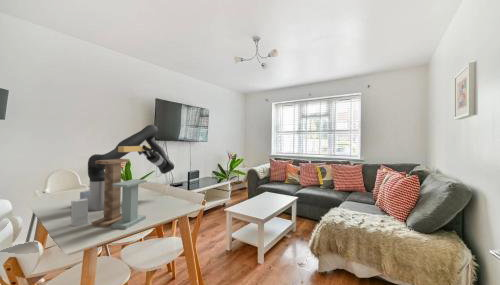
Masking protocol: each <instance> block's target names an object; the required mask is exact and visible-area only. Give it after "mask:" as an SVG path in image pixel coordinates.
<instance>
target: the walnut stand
mask: <svg viewBox="0 0 500 285" xmlns="http://www.w3.org/2000/svg"><path fill="white" fill-rule="evenodd" d="M129 162H130V159H129V158H120V159H109V160H98V161H95V164H105V169H104V172H105V187H104V209H103V217H101V218H99V219H96V220H94V221H92V222H90V223H91V224H90V225H91V226H92V227H93V226H94V227H102V228H110V227H112V224H114V223H116V222H118V221H120V220H122V212H121V199H122V197H121V196H122V195H121V194H122V192H121V191H122V189H121V188H122V187H116V186H113V184H116V183H120V182H122V164H123V163H129Z"/></svg>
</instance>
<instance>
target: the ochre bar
mask: <svg viewBox="0 0 500 285" xmlns="http://www.w3.org/2000/svg"><path fill="white" fill-rule="evenodd" d="M145 146H146V147H148V148H150V149H151V147H150V146H149V145H145ZM142 147H143V145H140V146H122V147H118V152H130V153H134V152H136V153H137V152H138V151H145V150H144V149H143V148H142Z"/></svg>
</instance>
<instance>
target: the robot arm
mask: <svg viewBox="0 0 500 285" xmlns="http://www.w3.org/2000/svg"><path fill="white" fill-rule="evenodd" d="M158 132H159V130H158V127H157V126H156V125H154V124H148V125H146V126H145V127H144V128H142V129H141V130H139V131H138V132H136V133H134V134H132V135H130V136H128V137H126V138H125V139H122V140H121V141H120V142H119V143H118V144H117V145H116V146H115V147H114V149H112V150H110V151H109V152H106V153H104V154H95V153H94V154H92V155H91V156H90V157H89V158H88V160H87V175H88V178H89V193H88V211H93V212H94V211H101V210H104V187H105V164H95V161H98V160H109V159H123V157H125V156H127V155H128V154H130V153H131V152H118V147H122V146H141V145H142V146H143V147H142V148H143V149H144V150H145V151H137V153H138V154H139V156H141V155H143V156H145V157H146V160H147V161H149V162H150V163H151V164H153V165H154V166H156V167H157V168H158V170H159V171H160V173H161V174H163V175H165V174H168V173H169V172H172V171H173V170H174V169H175V164H174V163H173V162H172V161H171V160H170V159H169V158H168V156H167V154H166V152H165V150H164V149H163V147H162V146H160V145H159V144H158V143H157V141H156V139H155V137H156V135H157V134H158ZM145 141H146V143H147V144H148V146H150V148H148V147H146V146H147V145H145V144H143V143H144V142H145Z"/></svg>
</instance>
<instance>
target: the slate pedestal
mask: <svg viewBox="0 0 500 285" xmlns="http://www.w3.org/2000/svg"><path fill="white" fill-rule="evenodd" d="M146 182H148V181H147V179H140V178H139V179H137V178H134V179H129V180H125V181H121V182H120V183H116V184H113V186H116V187H121V188H122V189H121V191H122V192H121V194H122V195H121V196H122V197H121V213H122V220H120V221H118V222H116V223H114V224H112V226H111V228H113V229H120V230H121V229H124V230H127V229H129V228H131V227H133V226H134V225H136V224H138V223H140V222H142V221H144V220H145V219H147V215H142V214H138V213H139V211H138V210H139V185H140V184H144V183H146Z"/></svg>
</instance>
